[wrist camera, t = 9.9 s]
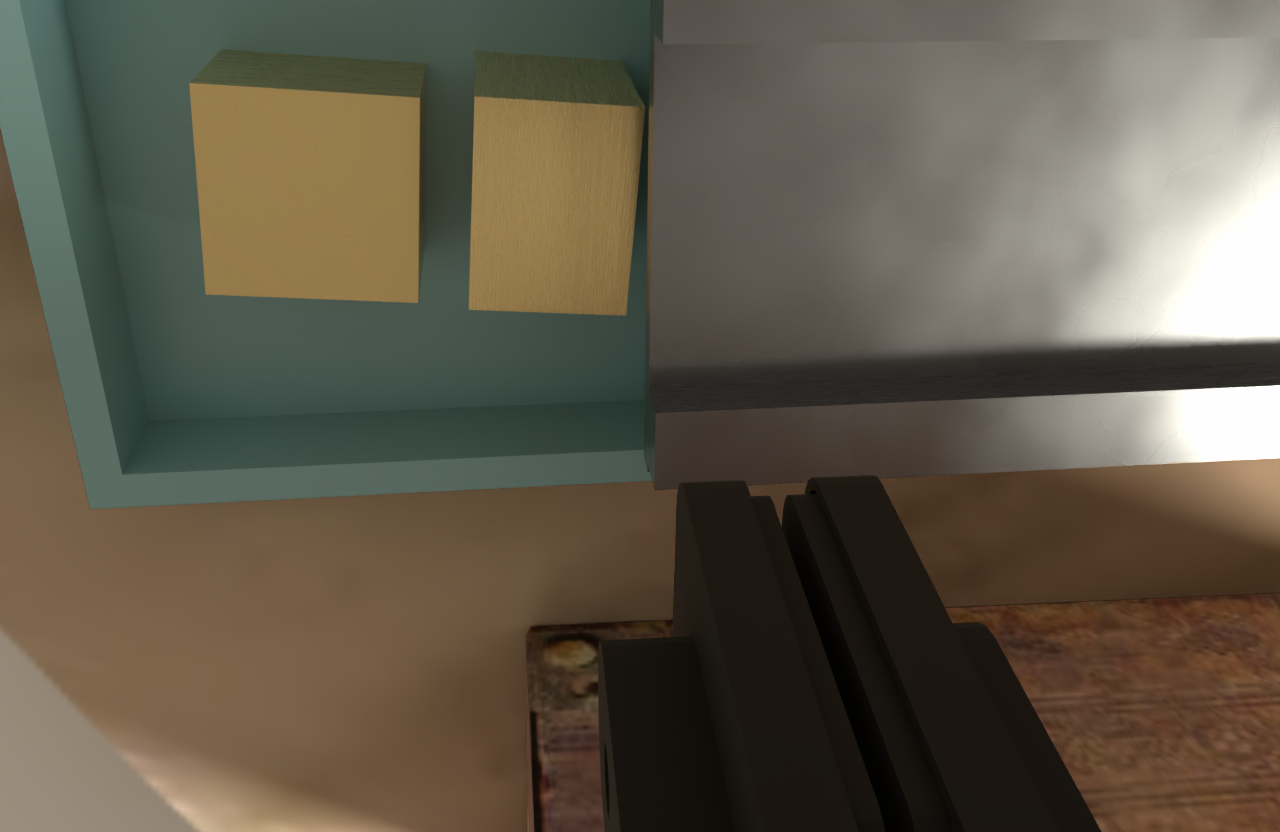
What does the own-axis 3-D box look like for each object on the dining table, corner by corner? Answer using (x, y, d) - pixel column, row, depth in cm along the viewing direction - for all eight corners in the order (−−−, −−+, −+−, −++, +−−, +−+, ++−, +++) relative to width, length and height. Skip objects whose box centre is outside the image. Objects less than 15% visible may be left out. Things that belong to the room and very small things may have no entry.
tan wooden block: (622, 60, 25) (475, 50, 25) (645, 107, 21) (474, 96, 21) (607, 245, 27) (470, 238, 26) (625, 315, 23) (468, 309, 23)
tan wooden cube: (419, 97, 22) (426, 63, 25) (188, 82, 21) (221, 49, 24) (418, 303, 24) (424, 250, 26) (205, 294, 23) (233, 241, 26)
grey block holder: (617, -118, 24) (665, -81, 18) (1411, -116, 26) (1703, -82, 20) (616, 344, 29) (654, 499, 22) (1289, 318, 30) (1494, 455, 24)
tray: (-19, -241, 22) (-88, -244, 19) (695, -231, 23) (723, -233, 21) (126, 441, 28) (90, 509, 26) (677, 416, 30) (696, 478, 27)
